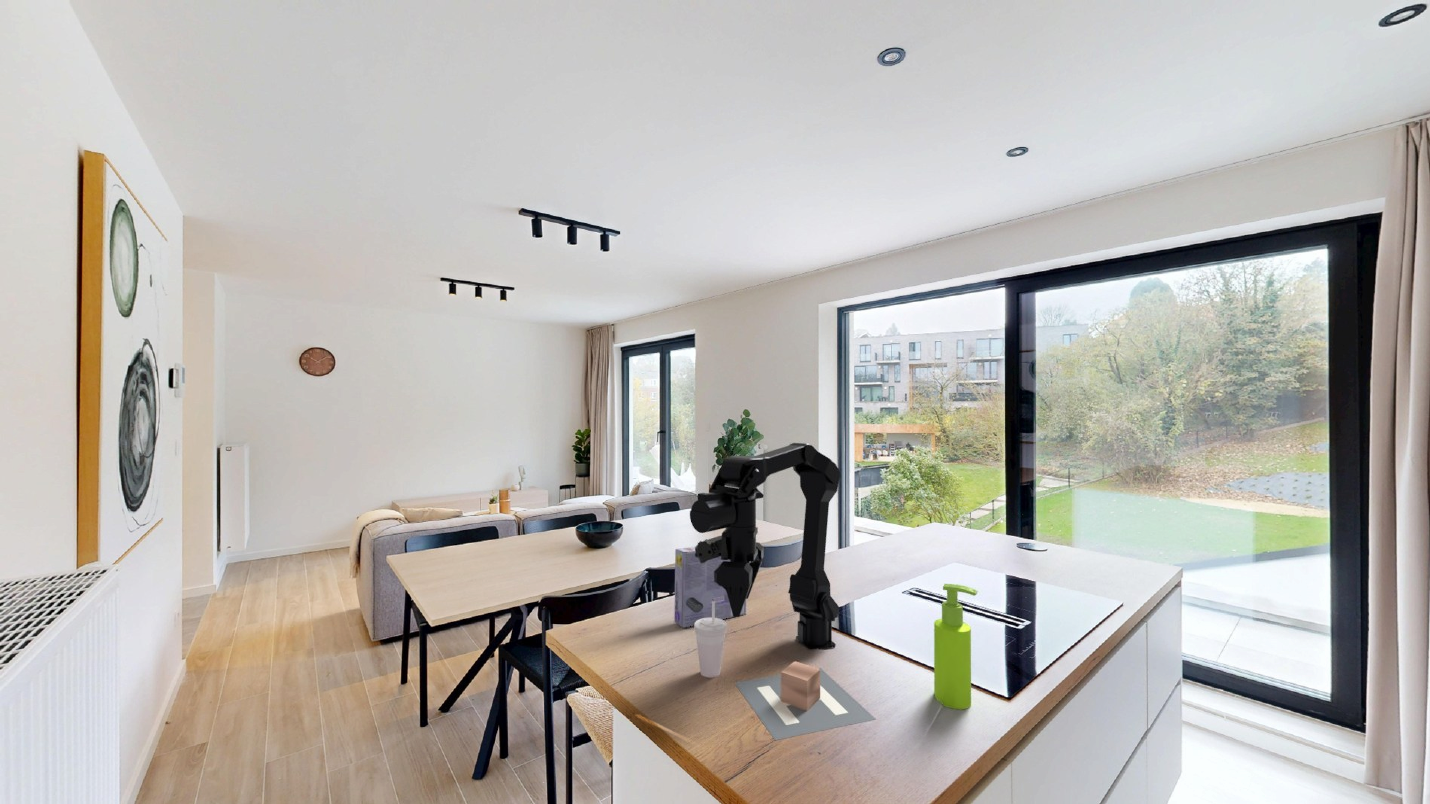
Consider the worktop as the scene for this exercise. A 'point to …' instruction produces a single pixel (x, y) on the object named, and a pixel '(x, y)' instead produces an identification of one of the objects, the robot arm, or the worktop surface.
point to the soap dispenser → (953, 652)
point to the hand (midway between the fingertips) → (740, 607)
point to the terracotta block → (800, 685)
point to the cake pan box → (698, 589)
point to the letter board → (794, 721)
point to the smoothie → (710, 643)
